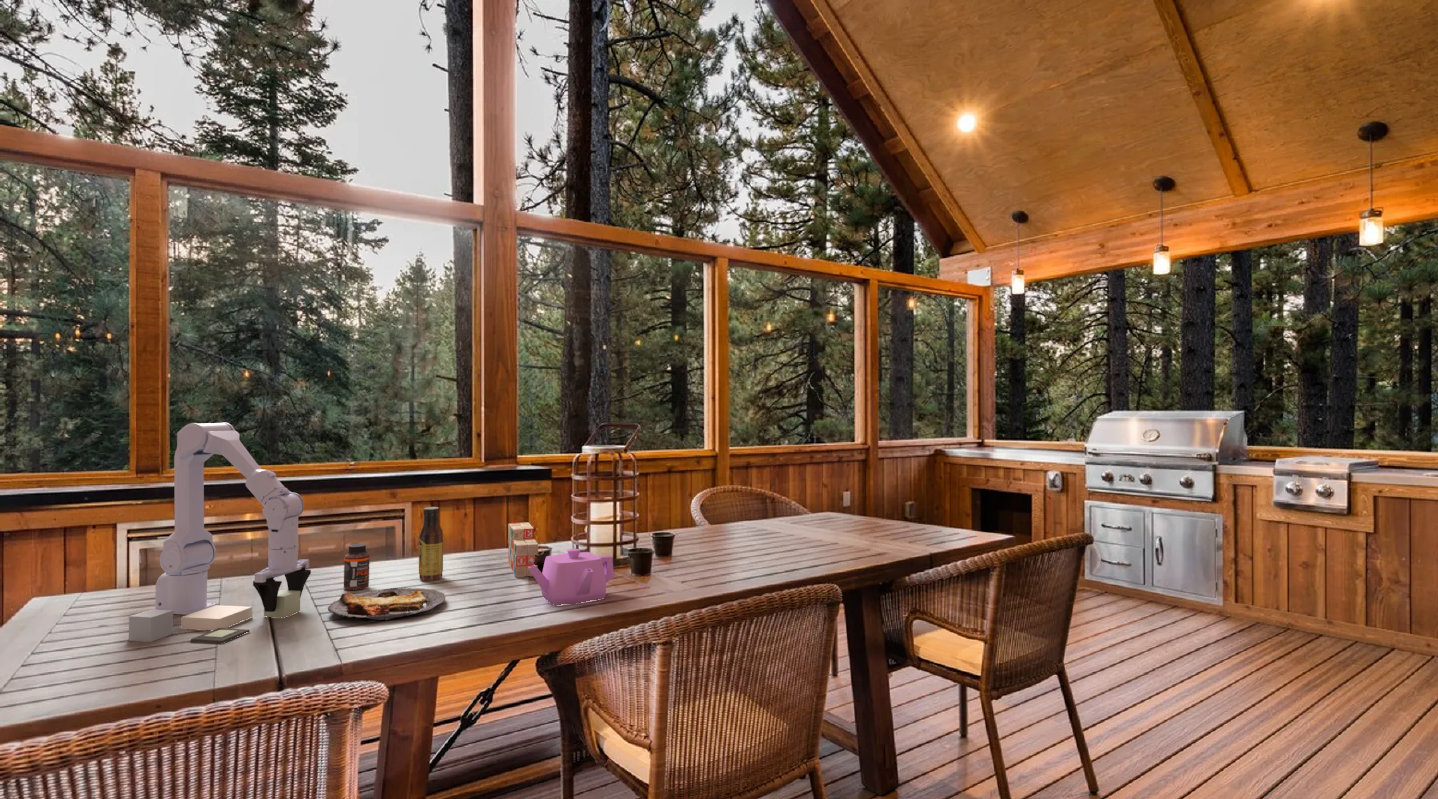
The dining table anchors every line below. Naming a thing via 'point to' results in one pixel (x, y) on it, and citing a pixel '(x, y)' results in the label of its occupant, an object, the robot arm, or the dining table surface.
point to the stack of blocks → (521, 548)
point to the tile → (219, 635)
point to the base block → (216, 617)
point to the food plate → (386, 603)
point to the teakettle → (574, 577)
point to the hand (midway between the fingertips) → (282, 606)
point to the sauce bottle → (431, 546)
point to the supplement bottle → (356, 568)
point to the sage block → (286, 604)
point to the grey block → (150, 625)
